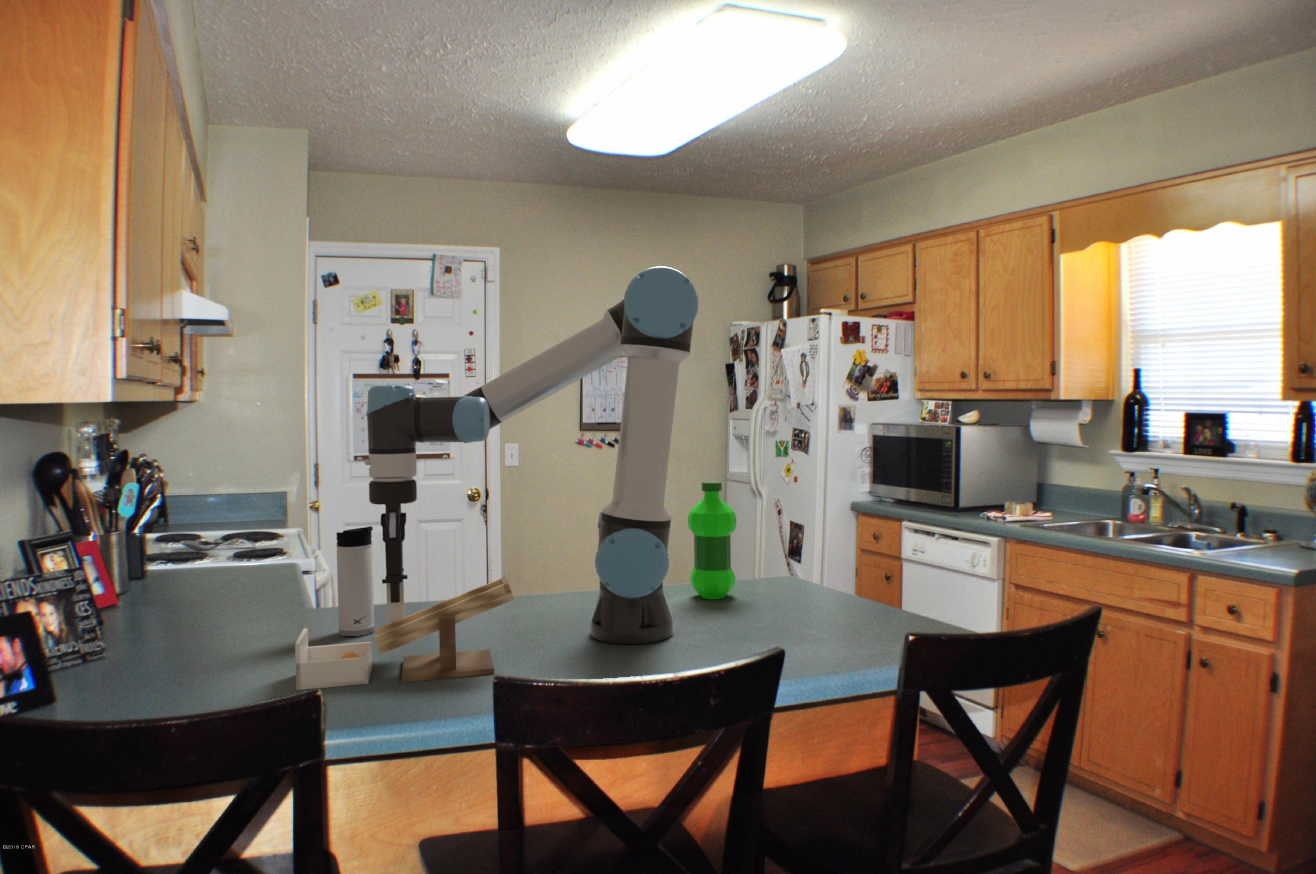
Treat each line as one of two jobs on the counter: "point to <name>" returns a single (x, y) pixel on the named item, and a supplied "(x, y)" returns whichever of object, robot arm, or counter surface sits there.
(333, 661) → the white open box
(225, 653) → the counter surface
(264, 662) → the counter surface
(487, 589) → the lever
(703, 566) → the plastic bottle
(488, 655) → the stand
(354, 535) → the travel mug
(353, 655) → the ball
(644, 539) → the robot arm
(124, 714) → the counter surface
